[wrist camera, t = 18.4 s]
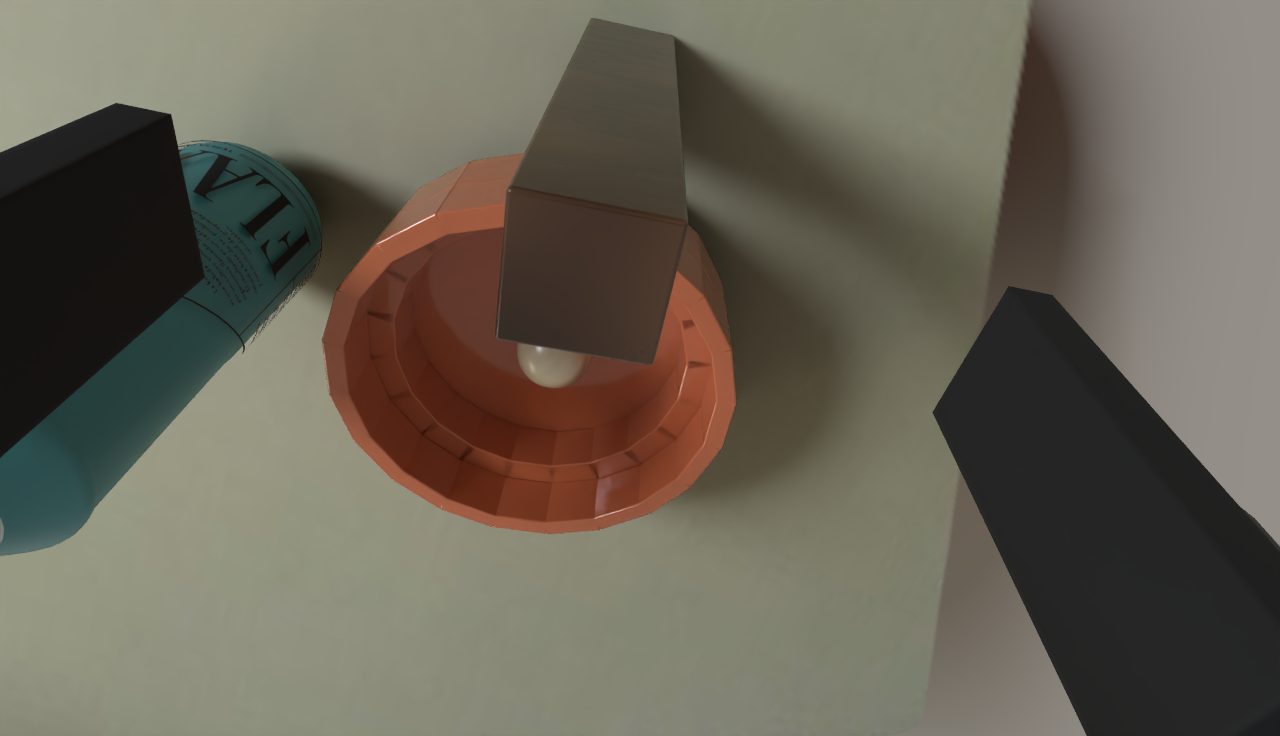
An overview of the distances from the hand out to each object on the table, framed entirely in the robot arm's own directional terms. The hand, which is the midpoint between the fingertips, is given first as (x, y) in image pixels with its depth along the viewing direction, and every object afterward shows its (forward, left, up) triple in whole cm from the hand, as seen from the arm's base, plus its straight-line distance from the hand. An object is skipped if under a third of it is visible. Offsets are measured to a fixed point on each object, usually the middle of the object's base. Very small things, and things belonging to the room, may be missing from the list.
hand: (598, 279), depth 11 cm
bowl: (+8, +8, -17) cm, 20 cm away
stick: (0, 0, -17) cm, 17 cm away
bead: (+8, +8, -14) cm, 18 cm away
